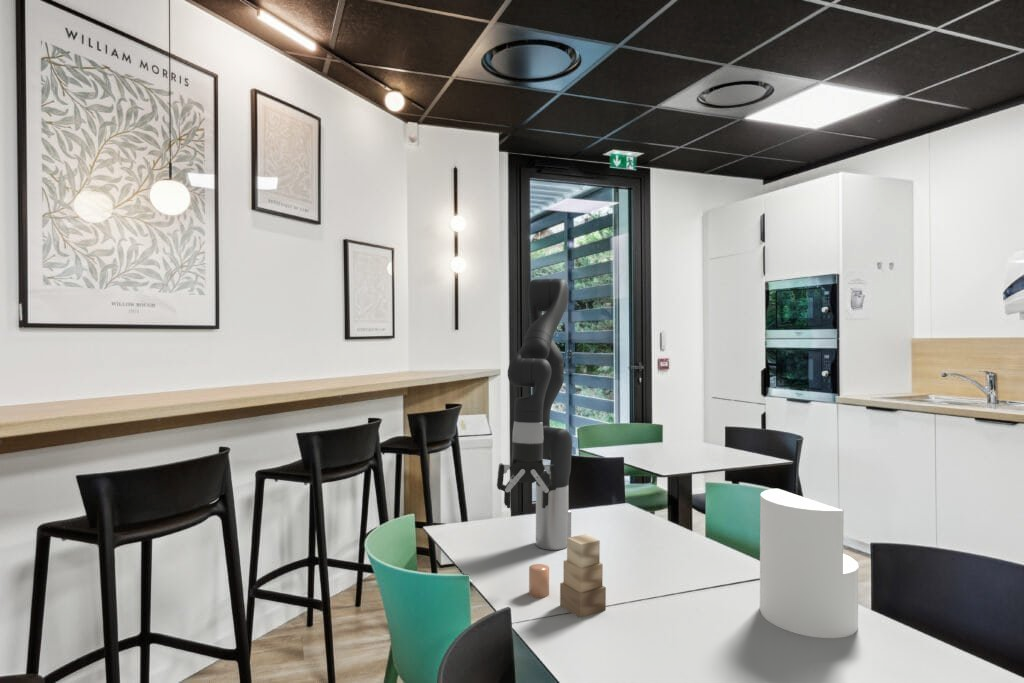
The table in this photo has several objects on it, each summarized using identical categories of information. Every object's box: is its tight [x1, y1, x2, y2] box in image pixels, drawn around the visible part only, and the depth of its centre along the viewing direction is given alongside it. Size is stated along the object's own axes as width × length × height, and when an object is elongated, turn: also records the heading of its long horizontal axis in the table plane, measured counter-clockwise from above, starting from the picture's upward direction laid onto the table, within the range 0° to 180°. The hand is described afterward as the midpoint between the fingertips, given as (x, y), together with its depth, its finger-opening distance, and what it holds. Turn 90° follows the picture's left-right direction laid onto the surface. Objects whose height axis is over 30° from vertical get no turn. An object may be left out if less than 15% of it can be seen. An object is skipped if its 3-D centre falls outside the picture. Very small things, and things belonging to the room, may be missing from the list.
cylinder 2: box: [759, 488, 859, 639], centre depth 131 cm, size 19×19×25 cm
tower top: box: [566, 534, 601, 568], centre depth 135 cm, size 5×5×5 cm
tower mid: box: [563, 559, 604, 593], centre depth 135 cm, size 6×6×5 cm
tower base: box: [559, 582, 607, 618], centre depth 135 cm, size 7×7×5 cm
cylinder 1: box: [528, 563, 550, 599], centre depth 142 cm, size 5×5×6 cm
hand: (525, 507), depth 150 cm, fingers open, 8 cm apart
